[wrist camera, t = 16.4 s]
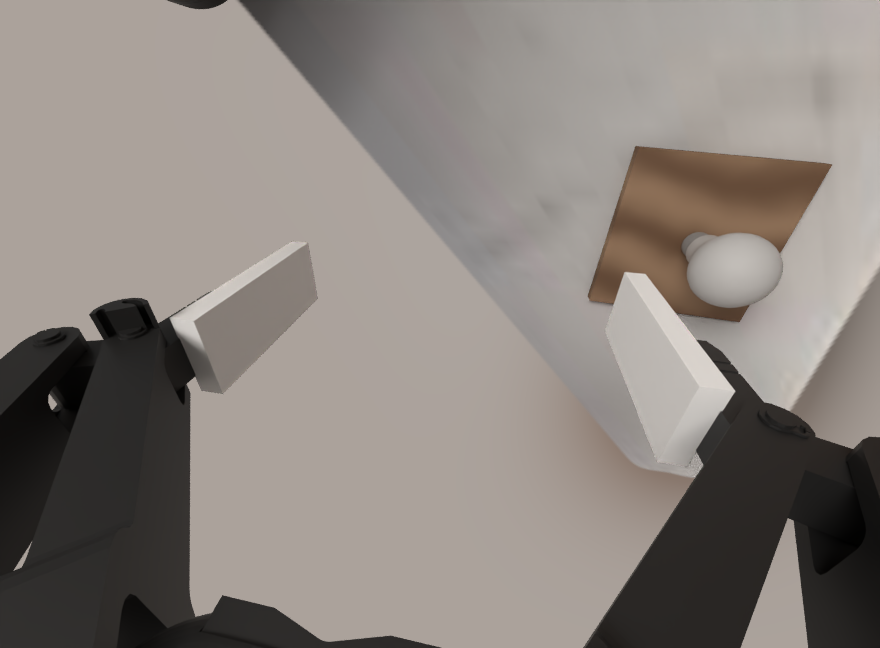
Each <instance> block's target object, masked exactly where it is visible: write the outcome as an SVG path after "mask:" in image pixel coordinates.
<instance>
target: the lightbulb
mask: <svg viewBox="0 0 880 648" xmlns="http://www.w3.org/2000/svg"><path fill="white" fill-rule="evenodd" d="M681 250H682V252H683V253H684V254H685V256H686V258H687V261H688V262H689V264H688V268H687V280H688V283H689V286H690V288H691V290H692V291H693V293H694V294H695V295H696V296H697V297H699V298H700V299H701V300H703V301H705V302H707V303H709V304H711V305H714V306H718V307H724V308H736V307H742V306H747V305H750V304H753V303H755V302H757V301H759V300H761V299H763V298H764V297H766V296H767V295H768V294H769V293H771V292H772V291H773V290H774V288H775V287H776V286H777V284H778V283H779V281H780V278H781V275H782V272H783V262H782V258H781V255H780V253H779V252H778V250H777V248H776V247H775V246H774V245H773V244H772V243H771V242H769V241H768V240H766V239H764V238H762V237H760V236H758V235H754V234H748V233H730V234H725V235H722V236H715V235H708V234H706V233H703V232H696V233H692V234H690V235H689V236H687V237H686V238H685V239H684V241H683V242H682V245H681Z"/></svg>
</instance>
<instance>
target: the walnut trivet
mask: <svg viewBox="0 0 880 648" xmlns="http://www.w3.org/2000/svg"><path fill="white" fill-rule="evenodd" d="M831 166H832V164H825V163H816V162H805V161H794V160H783V159H772V158H761V157H750V156H739V155H728V154H716V153H705V152H694V151H683V150H672V149H661V148H650V147H639V146H636V147H635V150H634V153H633V156H632V159H631V162H630V165H629V168H628V172H627V175H626V178H625V181H624V184H623V187H622V190H621V194H620V197H619V200H618V203H617V206H616V209H615V212H614V215H613V219H612V222H611V225H610V228H609V231H608V234H607V237H606V241H605V244H604V247H603V250H602V253H601V256H600V259H599V262H598V266H597V269H596V272H595V275H594V278H593V281H592V284H591V288H590V291H589V294H588V298H589V300H591V301H598V302H605V303H612V304H614V302H615V299H616V296H617V293H618V290H619V287H620V284H621V281H622V278H623V275H624V272H629V273H640V274H646V275H647V277H648V278H649V279H650V281H651V282H652V283H653V284H654V286H655V287H656V288H657V290H658V291H659V292H660V294H661V295H662V296H663V298H664V299H665V300H666V301H667V303H668V304H669V305H670V307H671V308H672V309H673V311H674V312H675V313H680V314H687V315H694V316H701V317H708V318H715V319H722V320H729V321H735V322H740V320H741V319H742V317H743V315H744V313H745V312H746V310H747V308H748V307H749V305H747V306H742V307H736V308H724V307H718V306H714V305H711V304H709V303H707V302H705V301H703V300H701V299H700V298H699V297H697V296H696V295H695V294H694V293H693V291H692V290H691V288H690V286H689V283H688V280H687V268H688V264H689V262H688V261H687V258H686V256H685V254H684V253H683V252H682V250H681V245H682V242H683V241H684V239H685V238H686V237H687V236H689V235H690V234H692V233H696V232H703V233H706V234H708V235H715V236H722V235H725V234H730V233H748V234H754V235H758V236H760V237H762V238H764V239H766V240H768V241H769V242H771V243H772V244H773V245H774V246H775V247H776V248H777V250H778V252H779V253H780V252H781V251H782V249H783V247H784V246H785V244H786V242H787V240H788V239H789V237H790V235H791V234H792V232H793V230H794V229H795V227H796V225H797V224H798V222H799V220H800V218H801V217H802V215H803V213H804V212H805V210H806V208H807V207H808V205H809V203H810V201H811V200H812V198H813V196H814V195H815V193H816V191H817V190H818V188H819V186H820V185H821V183H822V181H823V179H824V178H825V176H826V174H827V173H828V171H829V169H830V168H831Z"/></svg>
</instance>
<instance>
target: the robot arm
mask: <svg viewBox="0 0 880 648" xmlns="http://www.w3.org/2000/svg"><path fill="white" fill-rule="evenodd" d="M168 1H170V2H174V3H177V4H180V5H183V6H186V7H189V8H194V9H209V8H213V7H216V6H218V5H221V4H222V3H224V2H226V1H227V0H168ZM317 299H318V297H317V291H316V286H315V280H314V275H313V269H312V263H311V257H310V251H309V246H308V243H304V242H294V241H291V242H290V243H288V244H287V245H285V246H283V247H282V248H280V249H279V250H277V251H276V252H274V253H272V254H271V255H269V256H268V257H266V258H265V259H263V260H261V261H260V262H258V263H256V264H255V265H253V266H252V267H250V268H248V269H247V270H245V271H244V272H242V273H240V274H239V275H237V276H236V277H234V278H233V279H231V280H229V281H228V282H226V283H224V284H223V285H221V286H220V287H218V288H216V289H215V290H213V291H211V292H208V293H207V294H205V295H203V296H202V297H200V298H199V299H197V301H194V302H192V303H191V304H189V305H187V307H184V308H183V309H181V310H179V311H178V312H176V313H175V314H173V315H171V316H170V317H168V318H167V319H165V320H163V321H162V322H160V323H158V322H157V320H156V318H155V316H154V314H153V312H152V310H151V307H150V305H149V303H148V301H147V300H144V299H142V298H129V299H122V300H117V301H113V302H110V303H107V304H104V305H102V306H100V307H98V308H96V309H95V310H93V311H92V312H91V313H90V314H89V315H90V317H91V319H92V320H93V322H94V323H95V325H96V327H97V329H98V331H99V332H100V334H101V336H102V337H103V339H104V340H98V341H86V340H85V338H84V337H83V335H82V333H81V332H80V330H79V329H78V328H74V327H61V328H52V329H47V330H46V331H45V330H44V331H40V332H38V333H37V334H35V335H33V336H31V337H29V338H27V339H25V340H24V341H22V342H21V343H19V344H18V345H17V346H16V347H15V348H13V349H12V350H11V351H10V352H9V353H7V354H6V355H5V356H4V357H3V358H2V359H0V648H440V647H436V646H432V645H427V644H423V643H419V642H415V641H411V640H407V639H402V638H398V637H394V636H384V637H374V638H364V639H354V640H345V641H335V642H325V641H322V640H320V639H318V638H317V637H316V636H314V635H313V634H311V633H309V632H308V631H307V630H305V629H304V628H303V627H301V626H300V625H298V624H297V623H296V622H294V621H293V620H291V619H290V618H288V617H287V616H286V615H284V614H283V613H281V612H280V611H278V610H277V609H275V608H273V607H268V606H264V605H260V604H256V603H252V602H248V601H244V600H239V599H235V598H231V597H227V596H223V595H222V597H221V599H220V600H219V602H218V604H217V605H216V607H215V609H214V611H213V612H212V613H211V614H206V615H202V616H197V617H195V614H194V611H193V608H192V604H191V600H190V591H189V562H190V559H189V558H190V555H189V554H190V553H189V552H190V548H189V547H190V546H189V545H190V542H189V541H190V391H189V389H188V387H187V385H186V384H187V383H188V382H189V381H190V380H191V379H193V378H194V377H196V379H197V382H198V384H199V386H200V388H201V390H202V391H208V392H214V393H221V394H223V393H224V392H225V391H226V390H227V389H228V388H229V387H230V386H231V385H232V384H233V383H234V382H235V381H236V380H237V379H238V378H239V377H240V376H241V375H242V374H243V373H244V372H245V371H246V370H247V369H248V368H249V367H250V366H251V365H252V364H253V363H254V362H255V361H256V360H257V359H258V358H259V357H260V356H261V355H262V354H263V353H264V352H265V351H266V350H267V349H268V348H269V347H270V346H271V345H272V344H273V343H274V342H275V341H276V340H277V339H278V338H279V337H280V336H281V335H282V334H283V333H284V332H285V331H286V330H287V329H288V328H289V327H290V326H291V325H292V324H293V323H294V322H295V321H296V320H297V319H298V318H299V317H300V316H301V315H302V314H303V313H304V312H305V311H306V310H307V309H308V308H309V307H310V306H311V305H312V304H313V303H314V302H315V301H316V300H317ZM605 333H606V335H607V338H608V340H609V343H610V345H611V348H612V350H613V353H614V355H615V358H616V360H617V363H618V366H619V368H620V371H621V373H622V376H623V378H624V381H625V383H626V386H627V388H628V391H629V393H630V396H631V398H632V401H633V403H634V406H635V408H636V411H637V413H638V416H639V418H640V421H641V423H642V426H643V428H644V431H645V433H646V436H647V438H648V441H649V443H650V446H651V448H652V451H653V453H654V456H655V458H656V461H657V462H659V463H665V464H672V465H678V466H684V467H687V466H688V465H689V463H690V462H691V460H692V459H693V457H694V455H695V454H696V452H697V453H698V455H699V457H700V459H701V461H702V463H703V465H704V466H703V467H702V469H701V470H700V472H699V473H698V475H697V476H696V478H695V479H694V481H693V482H692V484H691V485H690V487H689V488H688V490H687V491H686V493H685V494H684V496H683V497H682V499H681V500H680V502H679V503H678V505H677V506H676V508H675V510H674V511H673V513H672V514H671V516H670V517H669V519H668V520H667V522H666V523H665V525H664V526H663V528H662V529H661V531H660V532H659V534H658V535H657V537H656V539H655V540H654V541H653V543H652V544H651V546H650V547H649V549H648V551H647V552H646V553H645V555H644V557H643V558H642V560H641V561H640V563H639V564H638V566H637V567H636V569H635V570H634V572H633V573H632V575H631V576H630V578H629V579H628V581H627V582H626V584H625V586H624V587H623V589H622V590H621V591H620V593H619V594H618V596H617V597H616V599H615V600H614V602H613V604H612V605H611V607H610V608H609V610H608V611H607V613H606V614H605V616H604V617H603V619H602V620H601V622H600V623H599V625H598V626H597V628H596V629H595V631H594V632H593V634H592V635H591V637H590V638H589V640H588V641H587V643H586V645H585V646H584V647H583V648H740V647H741V645H742V642H743V639H744V637H745V634H746V631H747V628H748V626H749V623H750V620H751V617H752V615H753V612H754V609H755V606H756V604H757V601H758V598H759V595H760V592H761V590H762V587H763V584H764V582H765V579H766V576H767V573H768V571H769V568H770V565H771V562H772V560H773V557H774V554H775V551H776V548H777V546H778V543H779V540H780V538H781V535H782V532H783V529H784V527H785V524H786V521H787V518H789V519H791V520H794V527H795V536H796V544H797V552H798V562H799V570H800V578H801V588H802V596H803V605H804V614H805V622H806V631H807V640H808V648H880V437H868V438H866V439H863V440H862V441H861V442H860V443H859V444H858V445H857V446H856V447H855V448H854V449H851V448H848V447H845V446H841V445H838V444H835V443H832V442H829V441H826V440H823V439H820V438H817V437H815V433H814V431H813V430H812V429H811V427H810V426H809V425H808V424H807V423H806V422H804V421H803V420H802V419H801V418H799V417H798V416H797V415H795V414H793V413H791V412H789V411H787V410H786V409H783V408H781V407H778V406H775V405H773V404H769V403H764V402H763V401H762V400H761V398H760V397H759V396H758V395H757V394H756V392H755V391H754V390H753V389H752V388H751V386H750V385H749V384H748V383H747V382H746V380H745V379H744V378H743V377H742V376H741V374H738V371H737V370H736V368H735V367H734V366H733V365H731V362H730V361H729V360H728V359H727V358H726V356H725V355H724V354H723V353H722V352H721V351H720V350H719V349H717V348H716V347H714V346H713V345H711V344H710V343H708V342H707V341H701V340H696V339H695V338H694V337H693V335H692V334H691V333H690V331H689V330H688V329H687V327H686V326H685V325H684V324H683V322H682V321H681V320H680V318H679V317H678V316H677V314H676V313H675V312H674V311H673V309H672V308H671V307H670V305H669V304H668V303H667V301H666V300H665V299H664V298H663V296H662V295H661V294H660V292H659V291H658V290H657V288H656V287H655V286H654V284H653V283H652V282H651V281H650V279H649V278H648V277H647V275H646V274H640V273H629V272H624V275H623V278H622V281H621V284H620V287H619V290H618V293H617V296H616V299H615V302H614V305H613V308H612V311H611V314H610V317H609V320H608V323H607V326H606V329H605ZM49 394H50V395H51V396H52V398H53V399H54V400H55V401H56V403H57V406H56V407H55V408H54V409H53V410H51V408H50V406H49V403H48V395H49ZM32 540H33V541H32ZM31 542H32V543H31ZM30 543H31V547H30V549H29V552H28V555H27V558H26V560H25V562H24V564H23V566H22V568H20V569H17V570H15V571H13V570H14V569H15V567H16V566H17V564H18V562H19V561H20V559H21V558H22V556H23V554H24V553H25V551H26V550H27V548H28V547H29V545H30Z"/></svg>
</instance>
